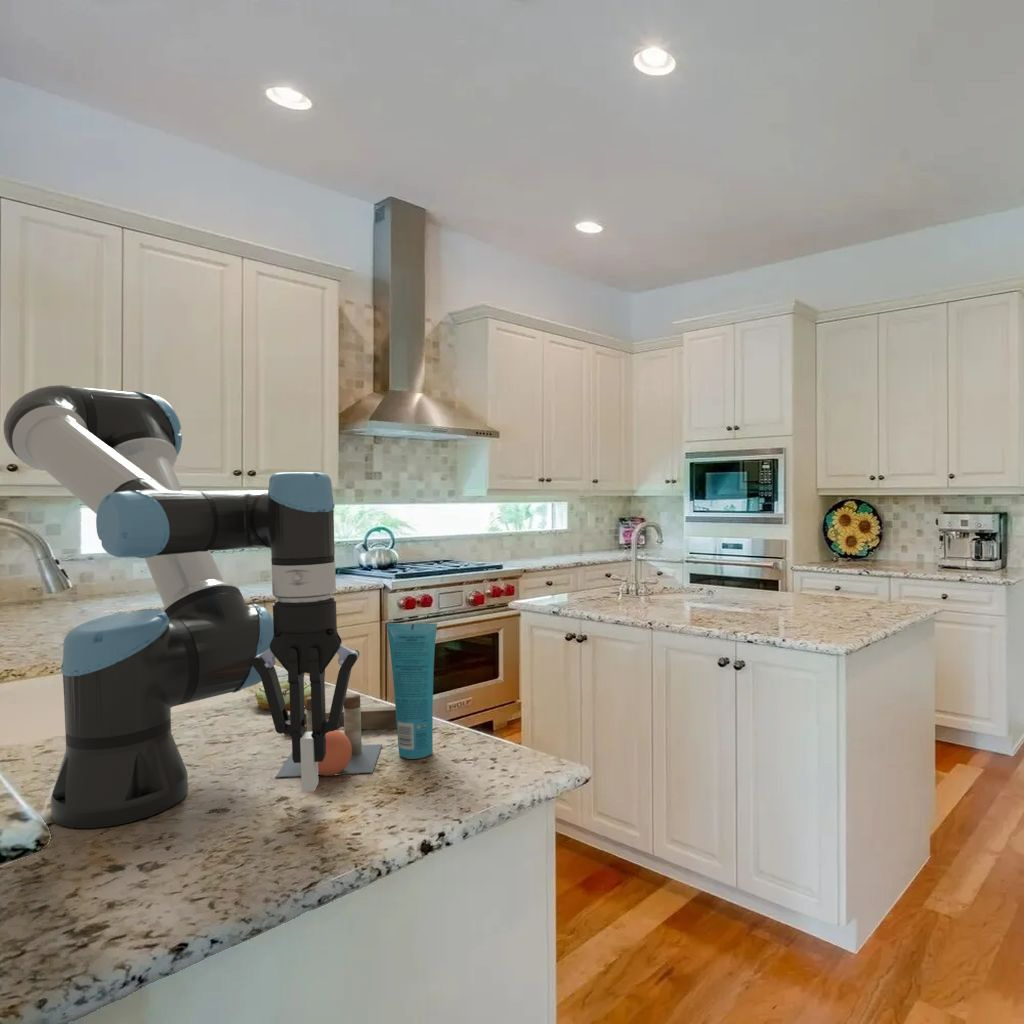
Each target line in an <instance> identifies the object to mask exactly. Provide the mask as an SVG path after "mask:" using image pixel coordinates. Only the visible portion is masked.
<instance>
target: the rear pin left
mask: <svg viewBox="0 0 1024 1024" xmlns="http://www.w3.org/2000/svg"><path fill="white" fill-rule="evenodd" d="M361 708H362V707H361V695H360V694H357V693H356V694H355V693H354V694H351V693H350V694H346V697H345V702H344V706H343V709H344V733H345V735H346V736H347V737H348V739H349V741H350V743H351V747H352V755H358V754H360V753H361V752H362V745H363V744H362V730H361Z"/></svg>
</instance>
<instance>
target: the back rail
mask: <svg viewBox="0 0 1024 1024" xmlns="http://www.w3.org/2000/svg"><path fill="white" fill-rule="evenodd" d="M360 708H361V731H364V730H365V729H368V730H383V729H384V730H385V729H386V730H387V729H391V730H392V729H397V721H396V708H395V706H377V707H374V706H372V707H360ZM325 709H326V708H325ZM330 710H331V708H329V709H326V720H327V719H329V714H330ZM287 712H288V715H289V719H290V710H287ZM305 725H306V728H305V729H304V733H305V732H307V715H306V709H305ZM340 727H344V708H343V711H342V715H341V720H340V723H339V725H338V727H337V728H336V730H338V729H339V728H340ZM362 729H364V730H362Z"/></svg>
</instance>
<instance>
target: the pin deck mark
mask: <svg viewBox="0 0 1024 1024" xmlns="http://www.w3.org/2000/svg"><path fill="white" fill-rule="evenodd" d="M382 745H383V744H382V743H381V744H380V743H379V744H362V752H361V753H360V754H358V755H351V759H350V761H349V763H348V765H347V766H346V767H345V768H344V769H343V770H342V771H341V772H339V773H337V774H349V775H360V774H359V773H370V774H373V773H374V771H373V770H375V768H374V767H376V765H375V764H377V761H378V758H379V755H380V753H381V749H382ZM355 773H356V774H355ZM318 775H320V774H318ZM295 776H301V763H294V761H293V759H292V752H291V753H290V755H289V756H288V757H287V759H286V760H285V762H284V763H283V764H282V766H281V768H280V769H279V771H278V772H277V774H276V775H275V777H288V778H296V777H295Z"/></svg>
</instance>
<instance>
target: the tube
mask: <svg viewBox="0 0 1024 1024" xmlns="http://www.w3.org/2000/svg"><path fill="white" fill-rule="evenodd" d="M437 628H438V623H437V622H435V623H434V622H433V623H432V622H431V623H430V622H429V623H403V622H402V623H400V622H399V623H398V622H396V623H395V622H393V623H392V622H390V623H389V622H388V623H386V630H387V635H388V636H387V637H388V643H389V651H390V652H389V653H390V659H391V667H392V668H391V669H392V670H391V672H392V682H393V693H394V695H393V696H394V707H395V708H396V721H397V728H396V730H397V732H396V733H397V744H398V745H397V746H398V755H399V756H400V757H401V758H404V759H408V760H414V759H415V760H416V759H423V758H426V757H428V756H430V755H432V754H433V751H434V750H433V747H434V745H433V743H434V742H433V727H434V725H433V722H434V721H433V720H434V718H433V716H434V715H433V714H434V713H433V712H434V711H433V710H434V709H433V708H434V707H433V706H434V703H433V702H434V701H433V700H434V669H435V668H434V667H435V649H436V639H437V630H438V629H437Z"/></svg>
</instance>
